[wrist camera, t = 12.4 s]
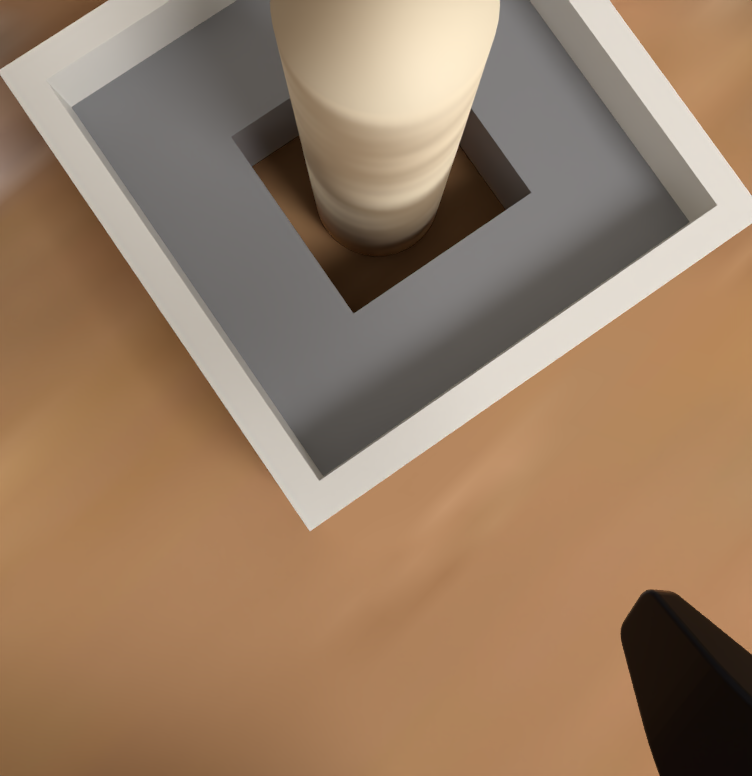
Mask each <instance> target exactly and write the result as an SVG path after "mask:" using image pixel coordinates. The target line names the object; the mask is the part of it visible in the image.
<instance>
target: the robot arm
mask: <svg viewBox="0 0 752 776" xmlns="http://www.w3.org/2000/svg"><path fill="white" fill-rule="evenodd" d="M621 642H622V646H623V650H624V653H625V657H626V661H627V665H628V669H629V672H630V676H631V680H632V684H633V688H634V691H635V695H636V699H637V703H638V707H639V711H640V714H641V718H642V722H643V726H644V729H645V733H646V736H647V740H648V743H649V746H650V749H651V752H652V755H653V758H654V761H655V764H656V767H657V770H658V772H659V775H660V776H752V654H750V653H749V652H748V651H747V650H745V649H744V648H743V647H742V646H740V645H739V644H738V643H737V642H735V641H734V640H733V639H732V638H731V637H729V636H728V635H727V634H726V633H724V632H723V631H722V630H721V629H719V628H718V627H717V626H716V625H715V624H713V623H712V622H711V621H710V620H708V619H707V618H706V617H705V616H703V615H702V614H701V613H700V612H699V611H697V610H696V609H695V608H694V607H692V606H691V605H690V604H689V603H687V602H686V601H685V600H684V599H682V598H681V597H680V596H679V595H677V594H676V593H674V592H671V591H663V590H652V589H651V590H646V591H645V592H643V593H642V594H641V596H640V597H639V599H638V600H637V602H636V603H635V605H634V606H633V608H632V609H631V611H630V613H629V614H628V616H627V617H626V619H625V620H624V622H623V624H622V627H621Z"/></svg>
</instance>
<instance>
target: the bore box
mask: <svg viewBox="0 0 752 776" xmlns="http://www.w3.org/2000/svg"><path fill="white" fill-rule="evenodd" d="M0 75H1V77H2V78H3V80H4V81H5V83H6V84H7V86H8V87H9V88H10V90H11V91H12V93H13V94H14V96H15V97H16V99H17V100H18V102H19V103H20V105H21V106H22V108H23V109H24V111H25V112H26V114H27V115H28V116H29V118H30V119H31V121H32V122H33V124H34V125H35V127H36V128H37V130H38V131H39V133H40V134H41V136H42V137H43V139H44V140H45V142H46V143H47V144H48V146H49V147H50V149H51V150H52V152H53V153H54V155H55V156H56V158H57V159H58V161H59V162H60V164H61V165H62V167H63V168H64V170H65V171H66V173H67V174H68V175H69V177H70V178H71V180H72V181H73V183H74V184H75V186H76V187H77V189H78V190H79V192H80V193H81V195H82V196H83V198H84V199H85V201H86V202H87V203H88V205H89V206H90V208H91V209H92V211H93V212H94V214H95V215H96V217H97V218H98V220H99V221H100V223H101V224H102V226H103V227H104V229H105V230H106V231H107V233H108V234H109V236H110V237H111V239H112V240H113V242H114V243H115V245H116V246H117V248H118V249H119V251H120V252H121V254H122V255H123V257H124V258H125V259H126V261H127V262H128V264H129V265H130V267H131V268H132V270H133V271H134V273H135V274H136V276H137V277H138V279H139V280H140V282H141V283H142V285H143V286H144V287H145V289H146V290H147V292H148V293H149V295H150V296H151V298H152V299H153V301H154V302H155V304H156V305H157V307H158V308H159V310H160V311H161V313H162V314H163V315H164V317H165V318H166V320H167V321H168V323H169V324H170V326H171V327H172V329H173V330H174V332H175V333H176V335H177V336H178V338H179V339H180V341H181V342H182V344H183V345H184V346H185V348H186V349H187V351H188V352H189V354H190V355H191V357H192V358H193V360H194V361H195V363H196V364H197V366H198V367H199V369H200V370H201V372H202V373H203V374H204V376H205V377H206V379H207V380H208V382H209V383H210V385H211V386H212V388H213V389H214V391H215V392H216V394H217V395H218V397H219V398H220V400H221V401H222V402H223V404H224V405H225V407H226V408H227V410H228V411H229V413H230V414H231V416H232V417H233V419H234V420H235V422H236V423H237V425H238V426H239V428H240V429H241V430H242V432H243V433H244V435H245V436H246V438H247V439H248V441H249V442H250V444H251V445H252V447H253V448H254V450H255V451H256V453H257V454H258V456H259V457H260V458H261V460H262V461H263V463H264V464H265V466H266V467H267V469H268V470H269V472H270V473H271V475H272V476H273V478H274V479H275V481H276V482H277V484H278V485H279V487H280V488H281V489H282V491H283V492H284V494H285V495H286V497H287V498H288V500H289V501H290V503H291V504H292V506H293V507H294V509H295V510H296V512H297V513H298V515H299V516H300V517H301V519H302V520H303V522H304V523H305V525H306V526H307V528H308V529H309V531H311V530H312V529H314V528H315V527H317V526H318V525H320V524H321V523H322V522H324V521H325V520H327V519H328V518H330V517H331V516H332V515H334V514H335V513H337V512H338V511H340V510H341V509H342V508H344V507H345V506H347V505H348V504H350V503H351V502H353V501H354V500H355V499H357V498H358V497H360V496H361V495H363V494H364V493H365V492H367V491H368V490H370V489H371V488H373V487H374V486H375V485H377V484H378V483H380V482H381V481H383V480H384V479H386V478H387V477H388V476H390V475H391V474H393V473H394V472H396V471H397V470H398V469H400V468H401V467H403V466H404V465H406V464H407V463H408V462H410V461H411V460H413V459H414V458H416V457H417V456H419V455H420V454H421V453H423V452H424V451H426V450H427V449H429V448H430V447H431V446H433V445H434V444H436V443H437V442H439V441H440V440H442V439H443V438H444V437H446V436H447V435H449V434H450V433H452V432H453V431H454V430H456V429H457V428H459V427H460V426H462V425H463V424H464V423H466V422H467V421H469V420H470V419H472V418H473V417H475V416H476V415H477V414H479V413H480V412H482V411H483V410H485V409H486V408H487V407H489V406H490V405H492V404H493V403H495V402H496V401H497V400H499V399H500V398H502V397H503V396H505V395H506V394H508V393H509V392H510V391H512V390H513V389H515V388H516V387H518V386H519V385H520V384H522V383H523V382H525V381H526V380H528V379H529V378H531V377H532V376H533V375H535V374H536V373H538V372H539V371H541V370H542V369H543V368H545V367H546V366H548V365H549V364H551V363H552V362H553V361H555V360H556V359H558V358H559V357H561V356H562V355H564V354H565V353H566V352H568V351H569V350H571V349H572V348H574V347H575V346H576V345H578V344H579V343H581V342H582V341H584V340H585V339H586V338H588V337H589V336H591V335H592V334H594V333H595V332H597V331H598V330H599V329H601V328H602V327H604V326H605V325H607V324H608V323H609V322H611V321H612V320H614V319H615V318H617V317H618V316H620V315H621V314H622V313H624V312H625V311H627V310H628V309H630V308H631V307H632V306H634V305H635V304H637V303H638V302H640V301H641V300H642V299H644V298H645V297H647V296H648V295H650V294H651V293H653V292H654V291H655V290H657V289H658V288H660V287H661V286H663V285H664V284H665V283H667V282H668V281H670V280H671V279H673V278H674V277H675V276H677V275H678V274H680V273H681V272H683V271H684V270H686V269H687V268H688V267H690V266H691V265H693V264H694V263H696V262H697V261H698V260H700V259H701V258H703V257H704V256H706V255H707V254H708V253H710V252H711V251H713V250H714V249H716V248H717V247H719V246H720V245H721V244H723V243H724V242H726V241H727V240H729V239H730V238H731V237H733V236H734V235H736V234H737V233H739V232H740V231H742V230H743V229H744V228H746V227H747V226H749V225H750V224H752V195H751V194H750V193H749V191H748V190H747V189H746V187H745V186H744V185H743V183H742V182H741V180H740V179H739V178H738V176H737V175H736V174H735V172H734V171H733V169H732V168H731V167H730V165H729V164H728V163H727V161H726V160H725V158H724V157H723V156H722V154H721V153H720V152H719V150H718V149H717V147H716V146H715V145H714V143H713V142H712V141H711V139H710V138H709V136H708V135H707V134H706V132H705V131H704V130H703V128H702V127H701V125H700V124H699V123H698V121H697V120H696V119H695V117H694V116H693V115H692V113H691V112H690V110H689V109H688V108H687V106H686V105H685V104H684V102H683V101H682V99H681V98H680V97H679V95H678V94H677V93H676V91H675V90H674V88H673V87H672V86H671V84H670V83H669V82H668V80H667V79H666V77H665V76H664V75H663V73H662V72H661V71H660V69H659V68H658V66H657V65H656V64H655V62H654V61H653V60H652V58H651V57H650V55H649V54H648V53H647V51H646V50H645V49H644V47H643V46H642V45H641V43H640V42H639V40H638V39H637V38H636V36H635V35H634V34H633V32H632V31H631V29H630V28H629V27H628V25H627V24H626V23H625V21H624V20H623V18H622V17H621V16H620V14H619V13H618V12H617V10H616V9H615V7H614V6H613V5H612V3H611V2H610V1H609V0H500V11H499V21H498V25H497V29H496V34H495V37H494V40H493V43H492V46H491V49H490V52H489V55H488V58H487V61H486V64H485V67H484V70H483V73H482V76H481V79H480V82H479V85H478V89H477V92H476V95H475V98H474V101H473V104H472V107H471V110H470V113H469V116H468V119H467V122H466V125H465V128H464V131H463V134H462V137H461V140H460V143H459V145H460V146H461V148H462V149H463V150H464V152H465V153H466V155H467V156H468V157H469V159H470V160H471V162H472V163H473V164H474V166H475V167H476V169H477V170H478V171H479V173H480V174H481V176H482V177H483V179H484V180H485V181H486V183H487V184H488V186H489V187H490V188H491V190H492V191H493V193H494V194H495V195H496V197H497V198H498V200H499V201H500V202H501V204H502V205H503V207H504V208H505V211H504V212H502V213H501V214H499V215H498V216H496V217H495V218H494V219H492V220H491V221H489V222H488V223H486V224H485V225H483V226H482V227H480V228H479V229H477V230H476V231H474V232H473V233H471V234H470V235H469V236H467V237H466V238H464V239H463V240H461V241H460V242H458V243H457V244H455V245H454V246H452V247H451V248H449V249H448V250H446V251H445V252H444V253H442V254H441V255H439V256H438V257H436V258H435V259H433V260H432V261H430V262H429V263H427V264H426V265H424V266H423V267H421V268H420V269H419V270H417V271H416V272H414V273H413V274H411V275H410V276H408V277H407V278H405V279H404V280H402V281H401V282H399V283H398V284H396V285H395V286H394V287H392V288H391V289H389V290H388V291H386V292H385V293H383V294H382V295H380V296H379V297H377V298H376V299H374V300H373V301H371V302H370V303H369V304H367V305H366V306H364V307H363V308H361V309H360V310H358V311H357V312H355V313H354V314H353V312H352V311H351V309H350V308H349V306H348V305H347V304H346V302H345V301H344V299H343V298H342V296H341V295H340V293H339V292H338V291H337V289H336V288H335V286H334V285H333V283H332V282H331V280H330V279H329V278H328V276H327V275H326V273H325V272H324V270H323V269H322V267H321V266H320V265H319V263H318V262H317V260H316V259H315V257H314V256H313V254H312V253H311V252H310V250H309V249H308V247H307V246H306V244H305V243H304V241H303V240H302V239H301V237H300V236H299V234H298V233H297V231H296V230H295V228H294V227H293V226H292V224H291V223H290V221H289V220H288V218H287V217H286V215H285V214H284V213H283V211H282V210H281V208H280V207H279V205H278V204H277V202H276V201H275V200H274V198H273V197H272V195H271V194H270V192H269V191H268V189H267V188H266V187H265V185H264V184H263V182H262V181H261V179H260V178H259V176H258V175H257V174H256V172H255V171H254V169H253V168H252V166H253V165H255V164H256V163H258V162H259V161H261V160H262V159H264V158H265V157H267V156H268V155H270V154H271V153H273V152H274V151H276V150H277V149H279V148H280V147H282V146H284V145H285V144H287V143H288V142H290V141H291V140H293V139H294V138H296V137H297V136H299V132H298V128H297V124H296V120H295V115H294V111H293V107H292V103H291V99H290V95H289V91H288V87H287V82H286V78H285V74H284V70H283V66H282V62H281V58H280V54H279V49H278V45H277V41H276V37H275V33H274V29H273V24H272V18H271V12H270V0H108V1H107V2H105V3H104V4H102V5H100V6H99V7H97V8H96V9H94V10H93V11H91V12H89V13H88V14H86V15H85V16H83V17H82V18H80V19H78V20H77V21H75V22H74V23H72V24H71V25H69V26H67V27H66V28H64V29H63V30H61V31H60V32H58V33H57V34H55V35H53V36H52V37H50V38H49V39H47V40H46V41H44V42H42V43H41V44H39V45H38V46H36V47H35V48H33V49H31V50H30V51H28V52H27V53H25V54H24V55H22V56H20V57H19V58H17V59H16V60H14V61H13V62H11V63H9V64H8V65H6V66H5V67H3V68H2V69H0Z"/></svg>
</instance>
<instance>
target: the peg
mask: <svg viewBox="0 0 752 776" xmlns="http://www.w3.org/2000/svg"><path fill="white" fill-rule="evenodd" d="M499 11H500V0H270V12H271V18H272V24H273V29H274V33H275V37H276V41H277V45H278V49H279V54H280V58H281V62H282V66H283V70H284V74H285V78H286V82H287V87H288V91H289V95H290V99H291V103H292V107H293V111H294V115H295V120H296V124H297V128H298V132H299V136H300V140H301V144H302V148H303V153H304V157H305V161H306V165H307V169H308V173H309V177H310V182H311V186H312V190H313V194H314V198H315V202H316V206H317V210H318V213H319V217H320V219H321V221H322V223H323V225H324V226H325V228H326V230H327V231H328V232H329V233H330V235H331V236H332V237H333V238H334V239H335V240H336V241H337V242H339V243H340V244H341V245H343V246H344V247H346V248H348V249H350V250H352V251H354V252H357V253H360V254H364V255H370V256H386V255H392V254H395V253H398V252H401V251H403V250H405V249H407V248H409V247H411V246H412V245H414V244H415V243H416V242H418V241H419V240H420V239H421V238H422V237H423V236H424V235H425V234H426V232H427V231H428V229H429V228H430V226H431V225H432V223H433V221H434V218H435V216H436V213H437V210H438V207H439V204H440V201H441V198H442V195H443V192H444V189H445V186H446V183H447V180H448V177H449V174H450V170H451V167H452V164H453V161H454V158H455V155H456V152H457V149H458V146H459V143H460V140H461V137H462V134H463V131H464V128H465V125H466V122H467V119H468V116H469V113H470V110H471V107H472V104H473V101H474V98H475V95H476V92H477V89H478V85H479V82H480V79H481V76H482V73H483V70H484V67H485V64H486V61H487V58H488V55H489V52H490V49H491V46H492V43H493V40H494V37H495V34H496V29H497V25H498V21H499Z"/></svg>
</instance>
